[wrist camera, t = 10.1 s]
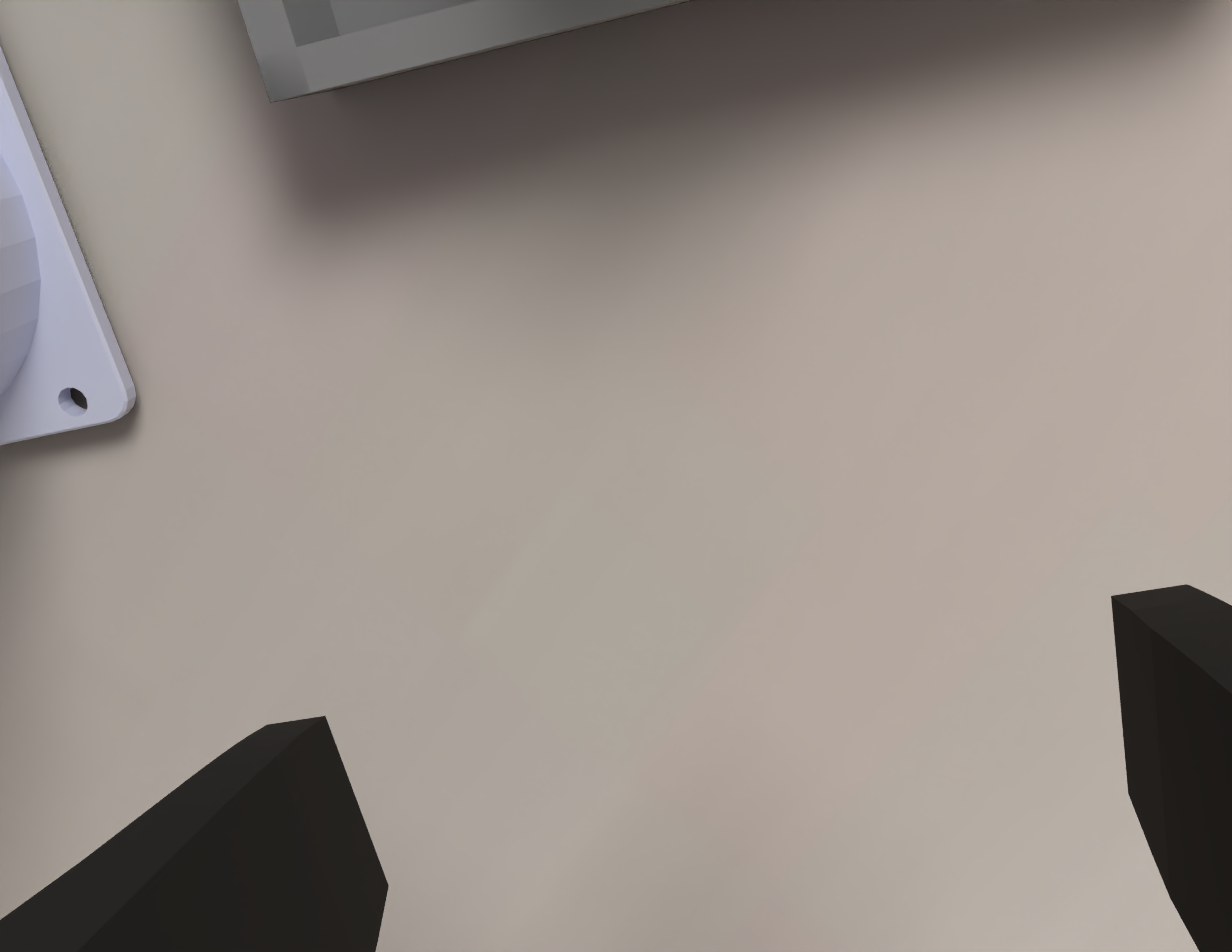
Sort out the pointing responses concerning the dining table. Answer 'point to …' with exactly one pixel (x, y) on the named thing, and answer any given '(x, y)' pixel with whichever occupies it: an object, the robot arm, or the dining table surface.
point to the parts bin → (400, 34)
